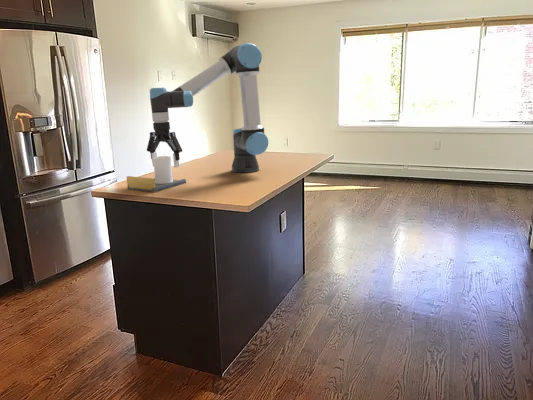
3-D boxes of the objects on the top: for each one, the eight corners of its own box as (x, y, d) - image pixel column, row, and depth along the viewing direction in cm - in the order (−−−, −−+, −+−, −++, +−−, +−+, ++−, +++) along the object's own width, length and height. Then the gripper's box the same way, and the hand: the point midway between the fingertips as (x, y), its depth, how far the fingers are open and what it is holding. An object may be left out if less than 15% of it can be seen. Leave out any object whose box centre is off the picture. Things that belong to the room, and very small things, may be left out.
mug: (165, 178, 215) (163, 154, 212) (180, 179, 212) (178, 155, 209) (151, 183, 205) (149, 158, 202) (166, 184, 201) (164, 159, 199)
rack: (186, 182, 209) (185, 170, 207) (153, 192, 190) (152, 179, 189) (161, 180, 217) (160, 168, 215) (127, 189, 198) (126, 176, 197)
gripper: (187, 120, 198) (191, 166, 204) (147, 121, 211) (152, 164, 216) (176, 122, 192) (181, 169, 197) (135, 122, 204) (141, 166, 210)
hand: (165, 166), depth 207 cm, fingers open, 13 cm apart
